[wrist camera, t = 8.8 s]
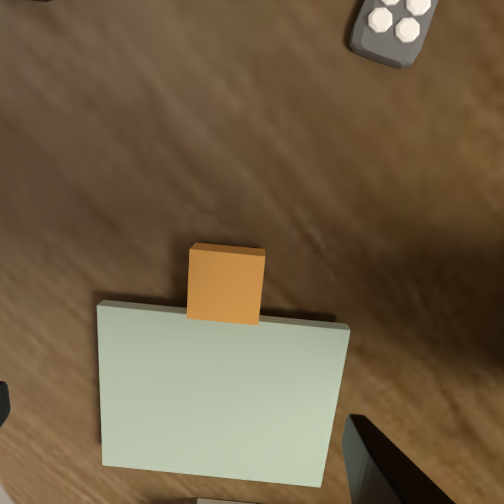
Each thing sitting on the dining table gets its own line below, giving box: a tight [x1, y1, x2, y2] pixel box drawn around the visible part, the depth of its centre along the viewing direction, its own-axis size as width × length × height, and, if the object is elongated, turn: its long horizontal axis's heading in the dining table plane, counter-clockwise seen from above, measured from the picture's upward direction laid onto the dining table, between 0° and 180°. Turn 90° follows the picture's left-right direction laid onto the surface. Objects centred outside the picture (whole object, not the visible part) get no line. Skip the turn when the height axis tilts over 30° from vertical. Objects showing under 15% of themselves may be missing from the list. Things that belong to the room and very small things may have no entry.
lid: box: [97, 242, 351, 487], centre depth 19 cm, size 15×16×2 cm
